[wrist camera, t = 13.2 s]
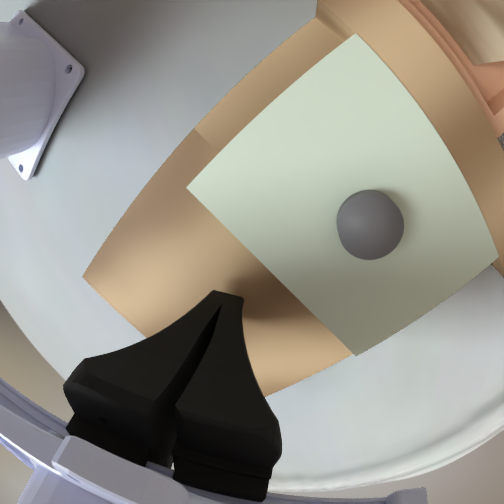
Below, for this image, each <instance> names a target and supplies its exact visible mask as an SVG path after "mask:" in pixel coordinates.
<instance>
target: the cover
mask: <svg viewBox="0 0 504 504" xmlns="http://www.w3.org/2000/svg"><path fill="white" fill-rule="evenodd" d="M186 188H187V189H188V190H189V191H190V192H191V193H192V194H193V195H194V196H195V197H196V198H197V199H198V200H199V201H200V202H201V203H202V204H203V205H204V206H205V207H206V208H207V209H208V210H209V211H210V212H211V213H212V214H213V215H214V216H215V217H216V218H217V219H218V220H219V221H220V222H221V223H222V224H223V225H224V226H225V227H226V228H227V229H228V230H229V231H230V232H231V233H232V234H233V235H234V236H235V237H236V238H237V239H238V240H239V241H240V242H241V243H242V244H243V245H244V246H245V247H246V248H247V249H248V250H249V251H250V252H251V253H252V254H253V255H254V256H255V257H256V258H257V259H258V260H259V261H260V262H261V263H262V264H263V265H264V266H265V267H266V268H267V269H268V270H269V271H270V272H271V273H272V274H273V275H274V276H275V277H276V278H277V279H278V280H279V281H280V282H281V283H282V284H283V285H284V286H285V287H286V288H287V289H288V290H289V291H290V292H291V293H292V294H293V295H294V296H295V297H296V298H298V299H299V300H300V301H301V302H302V303H303V304H304V305H305V306H306V307H307V308H308V309H309V310H310V311H311V312H312V313H313V314H314V315H315V316H316V317H317V318H318V319H319V320H320V321H321V322H322V323H323V324H324V325H325V326H326V327H327V328H328V329H329V330H330V331H331V332H332V333H333V334H334V335H335V336H336V337H337V338H338V339H339V340H340V341H341V342H342V343H343V344H344V345H345V346H346V347H347V348H348V349H349V350H350V351H351V352H352V353H353V354H354V355H355V356H358V355H359V354H361V353H363V352H365V351H366V350H368V349H370V348H372V347H373V346H375V345H377V344H379V343H380V342H382V341H384V340H385V339H387V338H389V337H390V336H392V335H393V334H395V333H397V332H398V331H400V330H401V329H403V328H405V327H406V326H408V325H409V324H411V323H412V322H414V321H415V320H417V319H418V318H420V317H421V316H423V315H424V314H426V313H427V312H429V311H430V310H432V309H433V308H434V307H436V306H437V305H439V304H440V303H441V302H443V301H444V300H446V299H447V298H448V297H450V296H451V295H452V294H454V293H455V292H456V291H458V290H459V289H460V288H462V287H463V286H464V285H465V284H467V283H468V282H469V281H471V280H472V279H473V278H474V277H476V276H477V275H478V274H479V273H480V272H482V271H483V270H484V269H485V268H486V267H488V266H489V265H490V264H491V263H492V262H493V261H495V260H496V259H497V258H498V257H499V255H498V252H497V249H496V247H495V244H494V241H493V239H492V236H491V234H490V231H489V229H488V227H487V224H486V222H485V220H484V217H483V215H482V213H481V211H480V208H479V206H478V204H477V202H476V200H475V198H474V196H473V194H472V192H471V190H470V188H469V186H468V184H467V182H466V180H465V178H464V176H463V175H462V173H461V171H460V169H459V167H458V166H457V164H456V162H455V160H454V159H453V157H452V155H451V154H450V152H449V150H448V149H447V147H446V145H445V144H444V142H443V141H442V139H441V137H440V136H439V134H438V133H437V131H436V130H435V128H434V127H433V125H432V124H431V122H430V121H429V119H428V118H427V116H426V115H425V114H424V112H423V111H422V109H421V108H420V107H419V105H418V104H417V103H416V101H415V100H414V99H413V97H412V96H411V95H410V93H409V92H408V91H407V90H406V88H405V87H404V86H403V84H402V83H401V82H400V81H399V80H398V78H397V77H396V76H395V75H394V74H393V72H392V71H391V70H390V69H389V68H388V67H387V65H386V64H385V63H384V62H383V61H382V60H381V59H380V58H379V56H378V55H377V54H376V53H375V52H374V51H373V50H372V49H371V48H370V47H369V46H368V45H367V44H366V43H365V42H364V41H363V40H362V39H361V38H360V37H359V36H358V35H357V34H356V33H355V34H354V35H353V36H351V37H350V38H349V39H347V40H346V41H345V42H343V43H342V44H341V45H339V46H338V47H337V48H335V49H334V50H333V51H332V52H330V53H329V54H328V55H327V56H325V57H324V58H323V59H322V60H320V61H319V62H318V63H317V64H315V65H314V66H313V67H312V68H311V69H309V70H308V71H307V72H306V73H305V74H303V75H302V76H301V77H300V78H299V79H298V80H296V81H295V82H294V83H293V84H292V85H291V86H289V87H288V88H287V89H286V90H285V91H284V92H283V93H281V94H280V95H279V96H278V97H277V98H276V99H275V100H274V101H273V102H271V103H270V104H269V105H268V106H267V107H266V108H265V109H264V110H263V111H262V112H261V113H259V114H258V115H257V116H256V117H255V118H254V119H253V120H252V121H251V122H250V123H249V124H248V125H247V126H246V127H245V128H244V129H243V130H242V131H241V132H240V133H238V134H237V135H236V136H235V137H234V138H233V139H232V140H231V141H230V142H229V143H228V144H227V145H226V146H225V147H224V148H223V149H222V150H221V151H220V152H219V153H218V154H217V155H216V156H215V158H214V159H213V160H212V161H211V162H210V163H209V164H208V165H207V166H206V167H205V168H204V169H203V170H202V171H201V172H200V173H199V174H198V175H197V176H196V177H195V179H194V180H193V181H192V182H191V183H190V184H189V185H188V186H187V187H186Z"/></svg>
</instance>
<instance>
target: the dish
mask: <svg viewBox="0 0 504 504" xmlns="http://www.w3.org/2000/svg"><path fill="white" fill-rule="evenodd" d="M398 1H399V2H400V3H401V4H402V5H403V6H404V7H405V8H406V9H407V10H408V12H409V13H410V14H411V15H412V16H413V17H414V18H415V19H416V20H417V21H418V22H419V23H420V24H421V26H422V27H423V28H424V29H425V30H426V31H427V33H428V34H429V35H430V36H431V37H432V38H433V40H434V41H435V42H436V43H437V45H438V46H439V47H440V48H441V50H442V51H443V52H444V53H445V55H446V56H447V57H448V59H449V60H450V61H451V63H452V64H453V66H454V67H455V68H456V70H457V71H458V73H459V74H460V76H461V77H462V78H463V80H464V81H465V83H466V84H467V86H468V88H469V89H470V91H471V92H472V94H473V95H474V97H475V99H476V100H477V102H478V104H479V105H480V107H481V109H482V111H483V112H484V114H485V116H486V118H487V119H488V121H489V123H490V125H491V127H492V129H493V131H494V133H495V135H496V137H497V139H498V138H499V137H500V136H501V135H502V134H503V133H504V61H498V62H491V63H485V64H479V65H472V63H471V62H470V60H469V59H468V58H467V56H466V55H465V53H464V52H463V51H462V49H461V48H460V47H459V45H458V44H457V43H456V42H455V40H454V39H453V38H452V37H451V35H450V34H449V33H448V32H447V30H446V29H445V28H444V27H443V26H442V25H441V23H440V22H439V21H438V20H437V19H436V18H435V17H434V15H433V14H432V13H431V12H430V11H429V10H428V9H427V8H426V7H425V6H424V5H423V4H422V3H421V2H420V1H419V0H398Z"/></svg>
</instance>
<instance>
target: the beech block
mask: <svg viewBox="0 0 504 504" xmlns="http://www.w3.org/2000/svg"><path fill="white" fill-rule="evenodd" d="M419 1H420V2H421V3H422V4H423V5H424V6H425V7H426V8H427V9H428V10H429V11H430V12H431V13H432V14H433V15H434V17H435V18H436V19H437V20H438V21H439V22H440V23H441V25H442V26H443V27H444V28H445V29H446V30H447V32H448V33H449V34H450V35H451V37H452V38H453V39H454V40H455V42H456V43H457V44H458V45H459V47H460V48H461V49H462V51H463V52H464V53H465V55H466V56H467V58H468V59H469V60H470V62H471V63H472V65H479V64H485V63H491V62H498V61H504V0H419Z"/></svg>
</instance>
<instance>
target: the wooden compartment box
mask: <svg viewBox="0 0 504 504" xmlns="http://www.w3.org/2000/svg"><path fill="white" fill-rule="evenodd" d="M355 33H356V34H357V35H358V36H359V37H360V38H361V39H362V40H363V41H364V42H365V43H366V44H367V45H368V46H369V47H370V48H371V49H372V50H373V51H374V52H375V53H376V54H377V55H378V56H379V58H380V59H381V60H382V61H383V62H384V63H385V64H386V65H387V67H388V68H389V69H390V70H391V71H392V72H393V74H394V75H395V76H396V77H397V78H398V80H399V81H400V82H401V83H402V84H403V86H404V87H405V88H406V90H407V91H408V92H409V93H410V95H411V96H412V97H413V99H414V100H415V101H416V103H417V104H418V105H419V107H420V108H421V109H422V111H423V112H424V114H425V115H426V116H427V118H428V119H429V121H430V122H431V124H432V125H433V127H434V128H435V130H436V131H437V133H438V134H439V136H440V137H441V139H442V141H443V142H444V144H445V145H446V147H447V149H448V150H449V152H450V154H451V155H452V157H453V159H454V160H455V162H456V164H457V166H458V167H459V169H460V171H461V173H462V175H463V176H464V178H465V180H466V182H467V184H468V186H469V188H470V190H471V192H472V194H473V196H474V198H475V200H476V202H477V204H478V206H479V208H480V211H481V213H482V215H483V217H484V220H485V222H486V224H487V227H488V229H489V231H490V234H491V236H492V239H493V241H494V244H495V247H496V249H497V252H498V255H499V257H498V258H497V259H496V260H495V261H493V262H492V263H491V264H492V265H493V266H494V267H495V269H496V270H497V271H498V272H499V273H500V274H501V275H502V276H503V277H504V151H503V149H502V147H501V145H500V143H499V141H498V139H497V137H496V135H495V133H494V131H493V129H492V127H491V125H490V123H489V121H488V119H487V118H486V116H485V114H484V112H483V111H482V109H481V107H480V105H479V104H478V102H477V100H476V99H475V97H474V95H473V94H472V92H471V91H470V89H469V88H468V86H467V84H466V83H465V81H464V80H463V78H462V77H461V76H460V74H459V73H458V71H457V70H456V68H455V67H454V66H453V64H452V63H451V61H450V60H449V59H448V57H447V56H446V55H445V53H444V52H443V51H442V50H441V48H440V47H439V46H438V45H437V43H436V42H435V41H434V40H433V38H432V37H431V36H430V35H429V34H428V33H427V31H426V30H425V29H424V28H423V27H422V26H421V24H420V23H419V22H418V21H417V20H416V19H415V18H414V17H413V16H412V15H411V14H410V13H409V12H408V10H407V9H406V8H405V7H404V6H403V5H402V4H401V3H400V2H399V1H398V0H317V7H316V17H315V18H313V19H312V20H311V21H310V22H308V23H307V24H306V25H304V26H303V27H302V28H301V29H299V30H298V31H297V32H295V33H294V34H293V35H292V36H291V37H289V38H288V39H287V40H286V41H284V42H283V43H282V44H281V45H280V46H279V47H277V48H276V49H275V50H274V51H273V52H272V53H270V54H269V55H268V56H267V57H266V58H265V59H264V60H262V61H261V62H260V63H259V64H258V65H257V66H256V67H255V68H254V69H252V70H251V71H250V72H249V73H248V74H247V75H246V76H245V77H244V78H243V79H242V80H241V81H240V82H239V83H238V84H237V85H235V86H234V87H233V88H232V89H231V90H230V91H229V92H228V93H227V94H226V95H225V96H224V97H223V98H222V99H221V100H220V101H219V102H218V103H217V104H216V105H215V106H214V107H213V109H212V110H211V111H210V112H209V113H208V114H207V115H206V116H205V117H204V118H203V119H202V120H201V121H200V122H199V123H198V124H197V125H196V127H195V128H194V129H193V130H192V131H191V132H190V133H189V134H188V135H187V137H186V138H185V139H184V140H183V141H182V142H181V143H180V144H179V146H178V147H177V148H176V149H175V150H174V151H173V153H172V154H171V155H170V156H169V157H168V158H167V160H166V161H165V162H164V163H163V164H162V166H161V167H160V168H159V169H158V171H157V172H156V173H155V174H154V175H153V177H152V178H151V179H150V180H149V182H148V183H147V184H146V186H145V187H144V188H143V189H142V191H141V192H140V193H139V195H138V196H137V197H136V199H135V200H134V201H133V203H132V204H131V205H130V207H129V208H128V209H127V211H126V212H125V213H124V215H123V216H122V217H121V219H120V220H119V222H118V223H117V224H116V226H115V227H114V229H113V230H112V232H111V233H110V235H109V236H108V237H107V239H106V240H105V242H104V243H103V245H102V246H101V248H100V249H99V251H98V252H97V254H96V255H95V257H94V259H93V260H92V262H91V263H90V265H89V266H88V268H87V270H86V271H85V273H84V274H83V276H82V277H83V278H84V279H85V280H86V281H87V282H88V283H89V284H90V285H91V286H92V287H93V288H94V289H95V290H96V291H97V292H98V293H99V294H100V295H101V296H102V297H103V298H104V299H105V300H106V301H107V302H108V303H109V304H110V305H111V306H112V307H113V308H114V309H115V310H116V311H117V312H118V313H119V314H121V315H122V316H123V317H124V318H125V319H126V320H127V321H128V322H129V323H130V324H132V325H133V326H134V327H135V328H136V329H137V330H138V331H139V332H141V333H142V334H143V335H144V336H145V337H146V338H148V337H150V336H152V335H154V334H156V333H158V332H159V331H161V330H163V329H164V328H166V327H168V326H169V325H171V324H172V323H173V322H175V321H176V320H178V319H179V318H181V317H182V316H183V315H185V314H186V313H187V312H188V311H190V310H191V309H192V308H193V307H194V306H196V305H197V304H198V303H199V302H200V301H201V300H202V299H204V298H205V297H206V296H207V295H208V294H209V293H210V292H211V291H212V290H216V291H220V292H224V293H228V294H232V295H236V296H240V297H243V299H244V304H243V309H242V322H243V331H244V338H245V343H246V348H247V353H248V356H249V360H250V363H251V366H252V369H253V372H254V375H255V377H256V380H257V382H258V384H259V387H260V389H261V391H262V393H263V395H264V397H266V396H268V395H270V394H273V393H275V392H277V391H279V390H282V389H284V388H286V387H288V386H291V385H293V384H295V383H297V382H299V381H301V380H303V379H305V378H307V377H310V376H312V375H314V374H316V373H318V372H320V371H322V370H324V369H326V368H327V367H329V366H331V365H333V364H335V363H337V362H339V361H341V360H343V359H345V358H346V357H348V356H350V355H352V354H353V353H352V352H351V351H350V350H349V349H348V348H347V347H346V346H345V345H344V344H343V343H342V342H341V341H340V340H339V339H338V338H337V337H336V336H335V335H334V334H333V333H332V332H331V331H330V330H329V329H328V328H327V327H326V326H325V325H324V324H323V323H322V322H321V321H320V320H319V319H318V318H317V317H316V316H315V315H314V314H313V313H312V312H311V311H310V310H309V309H308V308H307V307H306V306H305V305H304V304H303V303H302V302H301V301H300V300H299V299H298V298H296V297H295V296H294V295H293V294H292V293H291V292H290V291H289V290H288V289H287V288H286V287H285V286H284V285H283V284H282V283H281V282H280V281H279V280H278V279H277V278H276V277H275V276H274V275H273V274H272V273H271V272H270V271H269V270H268V269H267V268H266V267H265V266H264V265H263V264H262V263H261V262H260V261H259V260H258V259H257V258H256V257H255V256H254V255H253V254H252V253H251V252H250V251H249V250H248V249H247V248H246V247H245V246H244V245H243V244H242V243H241V242H240V241H239V240H238V239H237V238H236V237H235V236H234V235H233V234H232V233H231V232H230V231H229V230H228V229H227V228H226V227H225V226H224V225H223V224H222V223H221V222H220V221H219V220H218V219H217V218H216V217H215V216H214V215H213V214H212V213H211V212H210V211H209V210H208V209H207V208H206V207H205V206H204V205H203V204H202V203H201V202H200V201H199V200H198V199H197V198H196V197H195V196H194V195H193V194H192V193H191V192H190V191H189V190H188V189H187V188H186V187H187V186H188V185H189V184H190V183H191V182H192V181H193V180H194V179H195V177H196V176H197V175H198V174H199V173H200V172H201V171H202V170H203V169H204V168H205V167H206V166H207V165H208V164H209V163H210V162H211V161H212V160H213V159H214V158H215V156H216V155H217V154H218V153H219V152H220V151H221V150H222V149H223V148H224V147H225V146H226V145H227V144H228V143H229V142H230V141H231V140H232V139H233V138H234V137H235V136H236V135H237V134H238V133H240V132H241V131H242V130H243V129H244V128H245V127H246V126H247V125H248V124H249V123H250V122H251V121H252V120H253V119H254V118H255V117H256V116H257V115H258V114H259V113H261V112H262V111H263V110H264V109H265V108H266V107H267V106H268V105H269V104H270V103H271V102H273V101H274V100H275V99H276V98H277V97H278V96H279V95H280V94H281V93H283V92H284V91H285V90H286V89H287V88H288V87H289V86H291V85H292V84H293V83H294V82H295V81H296V80H298V79H299V78H300V77H301V76H302V75H303V74H305V73H306V72H307V71H308V70H309V69H311V68H312V67H313V66H314V65H315V64H317V63H318V62H319V61H320V60H322V59H323V58H324V57H325V56H327V55H328V54H329V53H330V52H332V51H333V50H334V49H335V48H337V47H338V46H339V45H341V44H342V43H343V42H345V41H346V40H347V39H349V38H350V37H351V36H353V35H354V34H355Z"/></svg>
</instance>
